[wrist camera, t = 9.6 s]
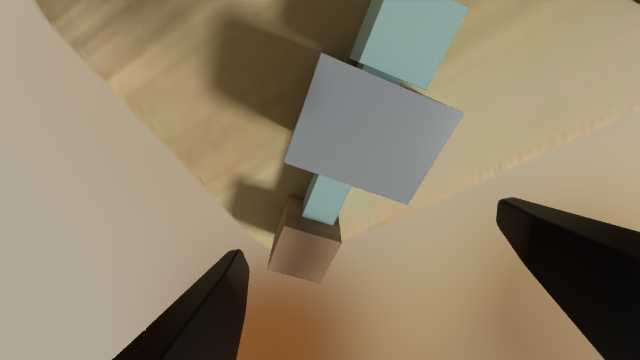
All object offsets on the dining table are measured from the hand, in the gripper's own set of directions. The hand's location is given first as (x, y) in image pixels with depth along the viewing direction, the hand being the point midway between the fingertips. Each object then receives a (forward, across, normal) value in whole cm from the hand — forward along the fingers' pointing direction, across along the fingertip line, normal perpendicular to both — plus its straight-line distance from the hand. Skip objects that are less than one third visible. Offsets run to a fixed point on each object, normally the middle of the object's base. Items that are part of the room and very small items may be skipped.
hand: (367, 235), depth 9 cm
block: (+13, +4, +8) cm, 16 cm away
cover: (+13, -2, -1) cm, 13 cm away
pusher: (+13, -1, -1) cm, 13 cm away
